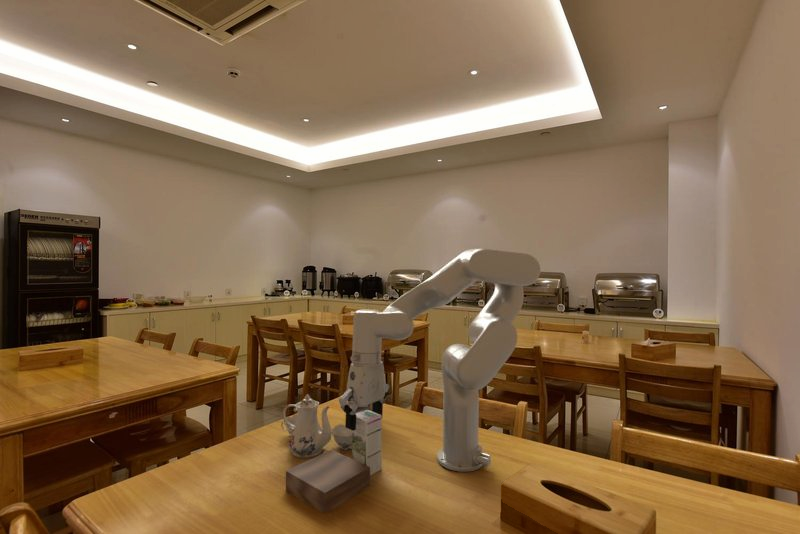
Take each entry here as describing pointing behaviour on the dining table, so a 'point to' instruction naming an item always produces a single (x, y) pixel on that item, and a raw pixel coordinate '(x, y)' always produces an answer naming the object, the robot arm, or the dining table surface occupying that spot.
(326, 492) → the walnut block
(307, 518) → the dining table surface
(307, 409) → the chinaware
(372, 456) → the syrup box
